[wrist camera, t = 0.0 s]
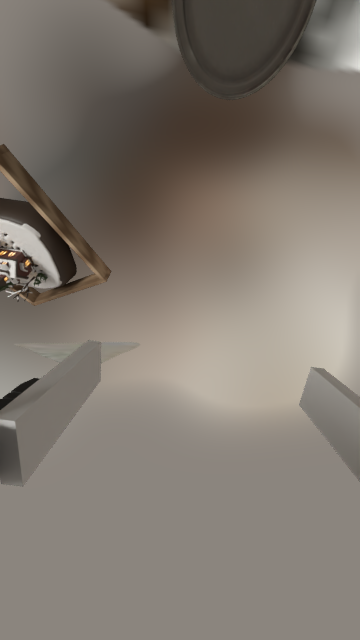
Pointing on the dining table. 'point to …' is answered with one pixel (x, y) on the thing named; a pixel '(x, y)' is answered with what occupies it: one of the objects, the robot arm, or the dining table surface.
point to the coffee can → (238, 41)
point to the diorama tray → (47, 209)
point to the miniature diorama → (31, 250)
